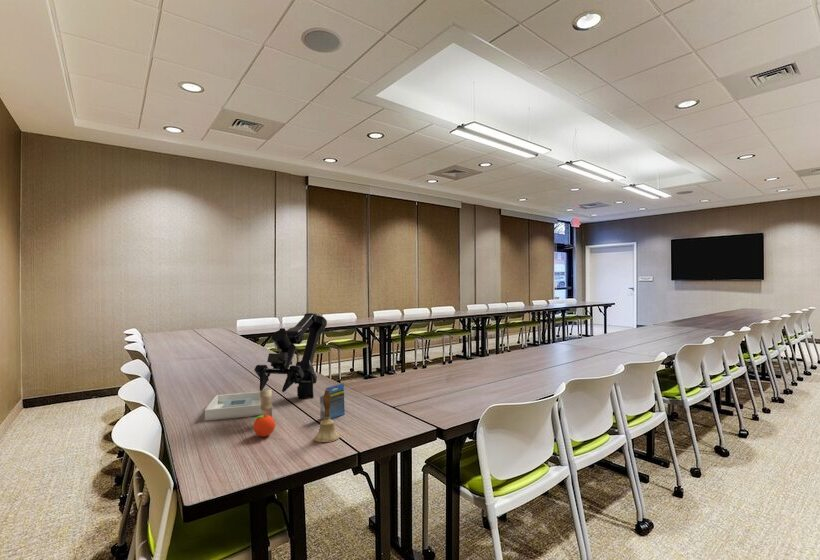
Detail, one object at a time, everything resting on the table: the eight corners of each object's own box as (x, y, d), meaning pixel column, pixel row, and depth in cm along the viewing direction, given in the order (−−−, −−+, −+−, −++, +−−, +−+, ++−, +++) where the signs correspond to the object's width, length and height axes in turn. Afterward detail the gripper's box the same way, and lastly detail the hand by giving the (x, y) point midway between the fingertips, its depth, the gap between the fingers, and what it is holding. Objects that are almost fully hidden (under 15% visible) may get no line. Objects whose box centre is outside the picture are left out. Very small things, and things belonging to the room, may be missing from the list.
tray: (266, 400, 173) (266, 391, 173) (261, 415, 154) (260, 405, 154) (216, 404, 168) (216, 395, 168) (204, 420, 149) (204, 410, 149)
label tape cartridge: (338, 412, 156) (338, 381, 156) (345, 414, 153) (344, 383, 153) (320, 418, 149) (319, 386, 149) (326, 421, 146) (325, 388, 146)
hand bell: (329, 431, 137) (328, 385, 137) (345, 436, 132) (344, 389, 131) (309, 438, 130) (308, 390, 130) (325, 445, 125) (324, 395, 125)
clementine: (249, 441, 129) (248, 420, 129) (251, 433, 136) (251, 413, 136) (274, 438, 131) (274, 417, 131) (275, 430, 138) (275, 410, 138)
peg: (272, 420, 148) (272, 389, 147) (271, 424, 144) (271, 391, 144) (261, 422, 146) (260, 389, 146) (260, 425, 143) (259, 392, 143)
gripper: (256, 344, 156) (239, 379, 145) (300, 345, 153) (286, 380, 142) (267, 360, 164) (252, 394, 153) (309, 361, 160) (297, 396, 149)
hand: (271, 391), depth 149 cm, fingers open, 9 cm apart
